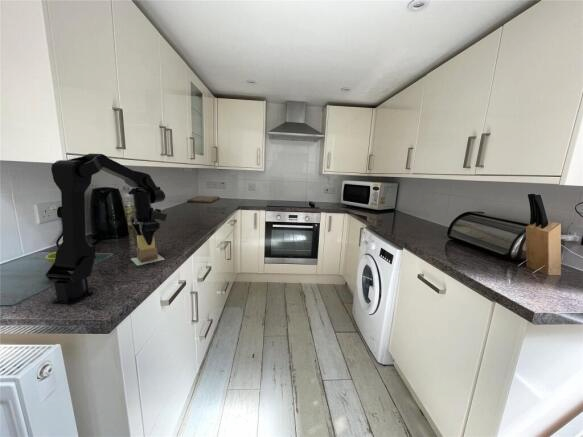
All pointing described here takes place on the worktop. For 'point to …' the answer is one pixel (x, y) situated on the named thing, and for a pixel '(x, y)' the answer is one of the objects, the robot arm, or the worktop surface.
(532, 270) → the worktop surface
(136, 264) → the baseplate
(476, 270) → the worktop surface
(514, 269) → the worktop surface
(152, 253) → the walnut block
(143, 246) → the mustard cube
